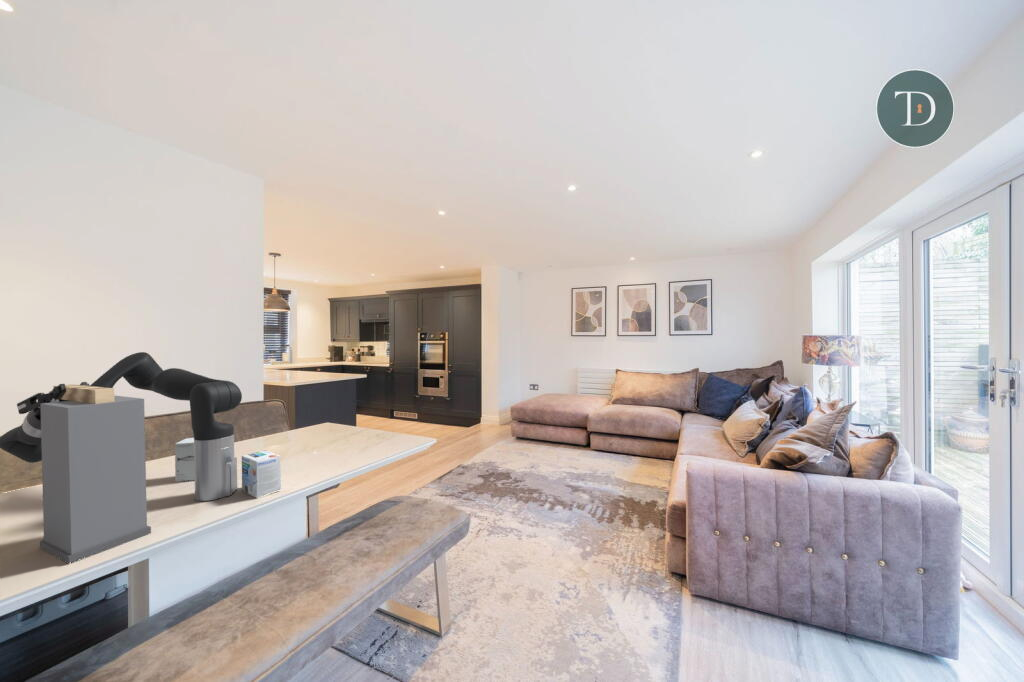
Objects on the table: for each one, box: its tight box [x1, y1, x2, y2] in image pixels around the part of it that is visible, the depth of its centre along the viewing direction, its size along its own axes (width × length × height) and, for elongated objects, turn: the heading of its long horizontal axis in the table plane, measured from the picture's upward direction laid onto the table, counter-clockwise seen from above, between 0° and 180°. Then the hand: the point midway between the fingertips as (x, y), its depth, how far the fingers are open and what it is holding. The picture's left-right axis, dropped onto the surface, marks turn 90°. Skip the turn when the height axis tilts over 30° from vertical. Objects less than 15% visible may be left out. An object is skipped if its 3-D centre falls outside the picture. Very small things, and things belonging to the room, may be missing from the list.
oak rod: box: [52, 384, 115, 404], centre depth 87 cm, size 22×3×3 cm, turn 66°
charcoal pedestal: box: [39, 395, 152, 564], centre depth 85 cm, size 15×13×32 cm
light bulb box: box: [241, 450, 282, 499], centre depth 112 cm, size 11×7×11 cm, turn 56°
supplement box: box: [174, 437, 195, 483], centre depth 124 cm, size 7×7×13 cm
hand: (74, 386), depth 89 cm, fingers closed on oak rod, 3 cm apart
